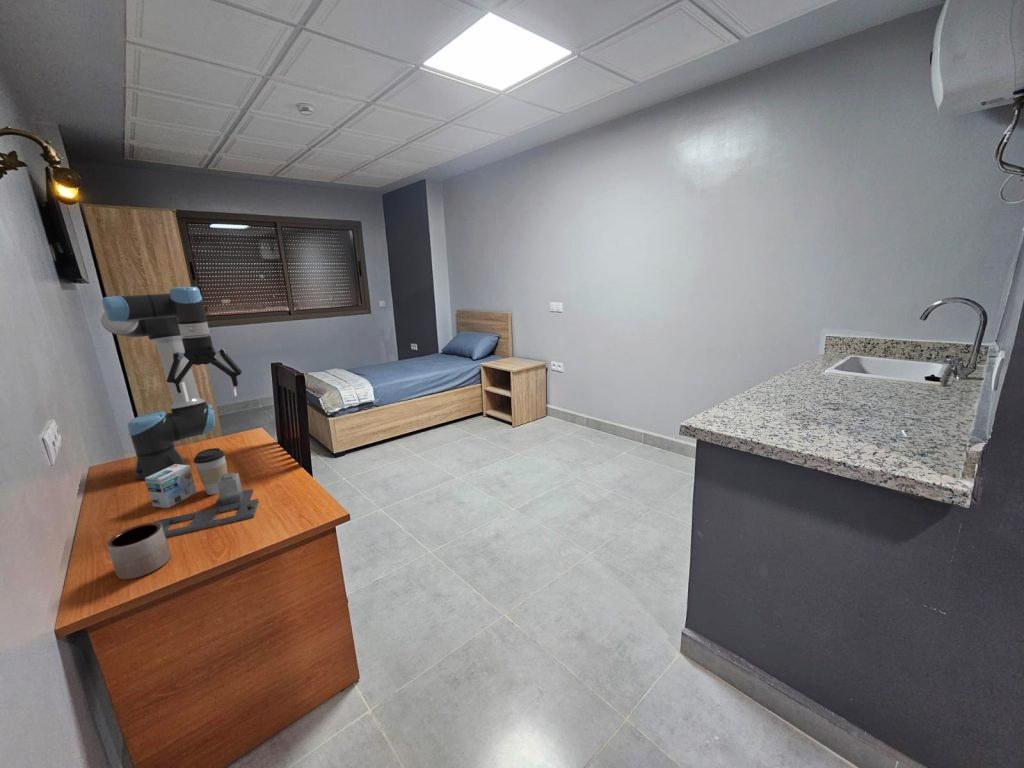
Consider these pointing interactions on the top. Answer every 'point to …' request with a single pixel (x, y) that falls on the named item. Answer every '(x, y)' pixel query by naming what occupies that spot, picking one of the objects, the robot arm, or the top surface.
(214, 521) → the rack rail
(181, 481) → the light bulb box
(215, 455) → the coffee cup
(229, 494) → the grey square block
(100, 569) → the top surface
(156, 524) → the planter
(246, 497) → the rubber mat
